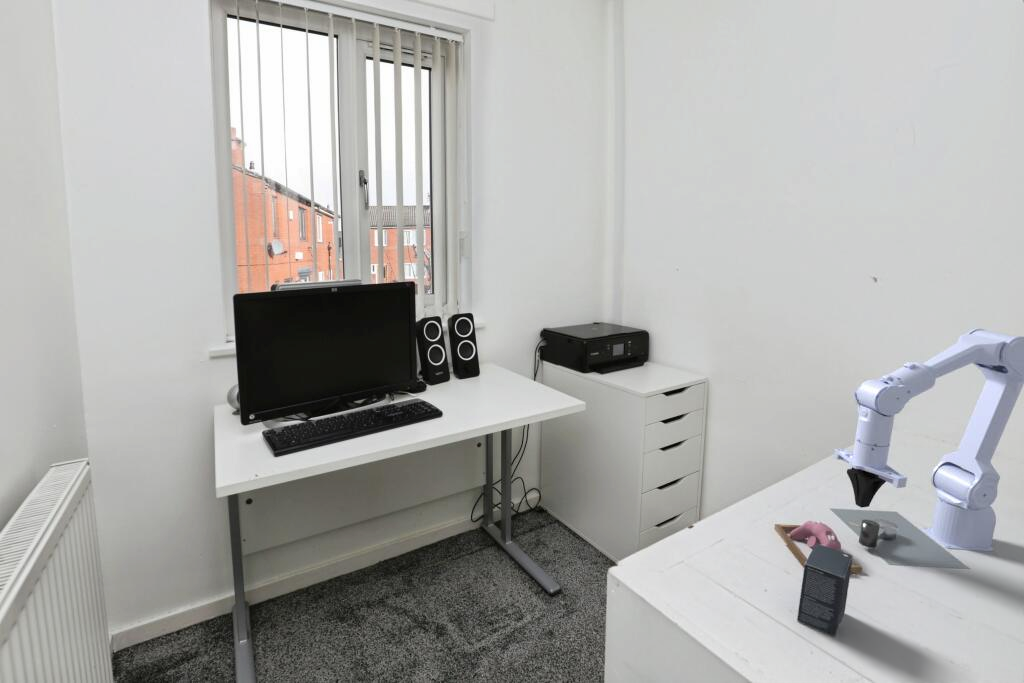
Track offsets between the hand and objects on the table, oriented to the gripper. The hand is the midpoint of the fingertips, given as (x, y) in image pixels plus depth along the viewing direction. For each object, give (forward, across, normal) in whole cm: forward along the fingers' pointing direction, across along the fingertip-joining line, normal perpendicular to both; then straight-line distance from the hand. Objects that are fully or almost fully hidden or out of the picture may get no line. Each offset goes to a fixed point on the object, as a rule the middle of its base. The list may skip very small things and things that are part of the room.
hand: (862, 505), depth 111 cm
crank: (+8, +1, +4) cm, 9 cm away
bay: (+8, 0, -10) cm, 13 cm away
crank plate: (+9, 0, +10) cm, 13 cm away
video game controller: (+9, 0, -11) cm, 14 cm away
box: (+9, +16, -25) cm, 31 cm away
